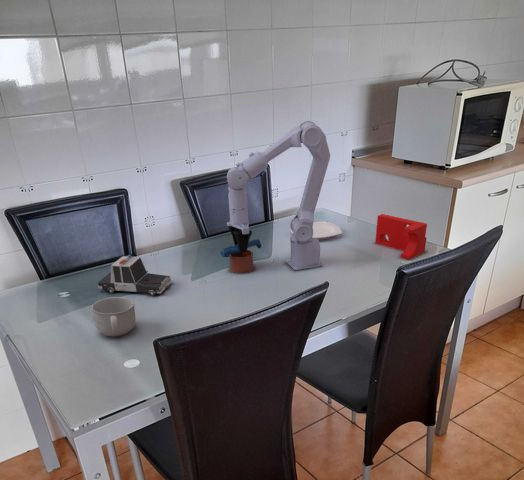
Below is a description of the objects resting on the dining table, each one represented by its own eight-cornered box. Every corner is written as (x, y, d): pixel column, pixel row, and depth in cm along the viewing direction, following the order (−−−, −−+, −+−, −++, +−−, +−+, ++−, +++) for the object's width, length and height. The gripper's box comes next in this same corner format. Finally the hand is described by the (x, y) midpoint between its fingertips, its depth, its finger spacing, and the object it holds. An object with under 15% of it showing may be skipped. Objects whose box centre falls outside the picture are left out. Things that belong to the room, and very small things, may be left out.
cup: (249, 263, 172) (248, 247, 170) (256, 271, 166) (255, 255, 163) (227, 266, 170) (226, 251, 168) (234, 274, 164) (232, 258, 161)
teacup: (101, 322, 138) (95, 296, 134) (141, 320, 139) (136, 293, 135) (91, 348, 127) (84, 320, 122) (134, 345, 127) (128, 317, 123)
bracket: (428, 222, 170) (412, 230, 164) (424, 251, 176) (408, 259, 170) (383, 213, 182) (367, 219, 176) (381, 240, 187) (365, 247, 181)
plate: (284, 229, 202) (284, 224, 201) (330, 224, 205) (330, 219, 204) (299, 244, 186) (299, 239, 185) (348, 239, 189) (348, 233, 188)
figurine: (256, 248, 171) (219, 260, 164) (254, 237, 170) (216, 249, 163) (264, 247, 167) (226, 260, 160) (261, 236, 166) (223, 248, 159)
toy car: (160, 297, 151) (155, 265, 146) (98, 293, 156) (91, 262, 150) (172, 283, 160) (168, 253, 155) (113, 280, 164) (107, 251, 159)
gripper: (220, 203, 162) (223, 244, 170) (232, 215, 151) (235, 258, 158) (241, 201, 164) (243, 241, 171) (254, 212, 152) (256, 255, 160)
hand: (240, 249), depth 165 cm, fingers closed on figurine, 5 cm apart
